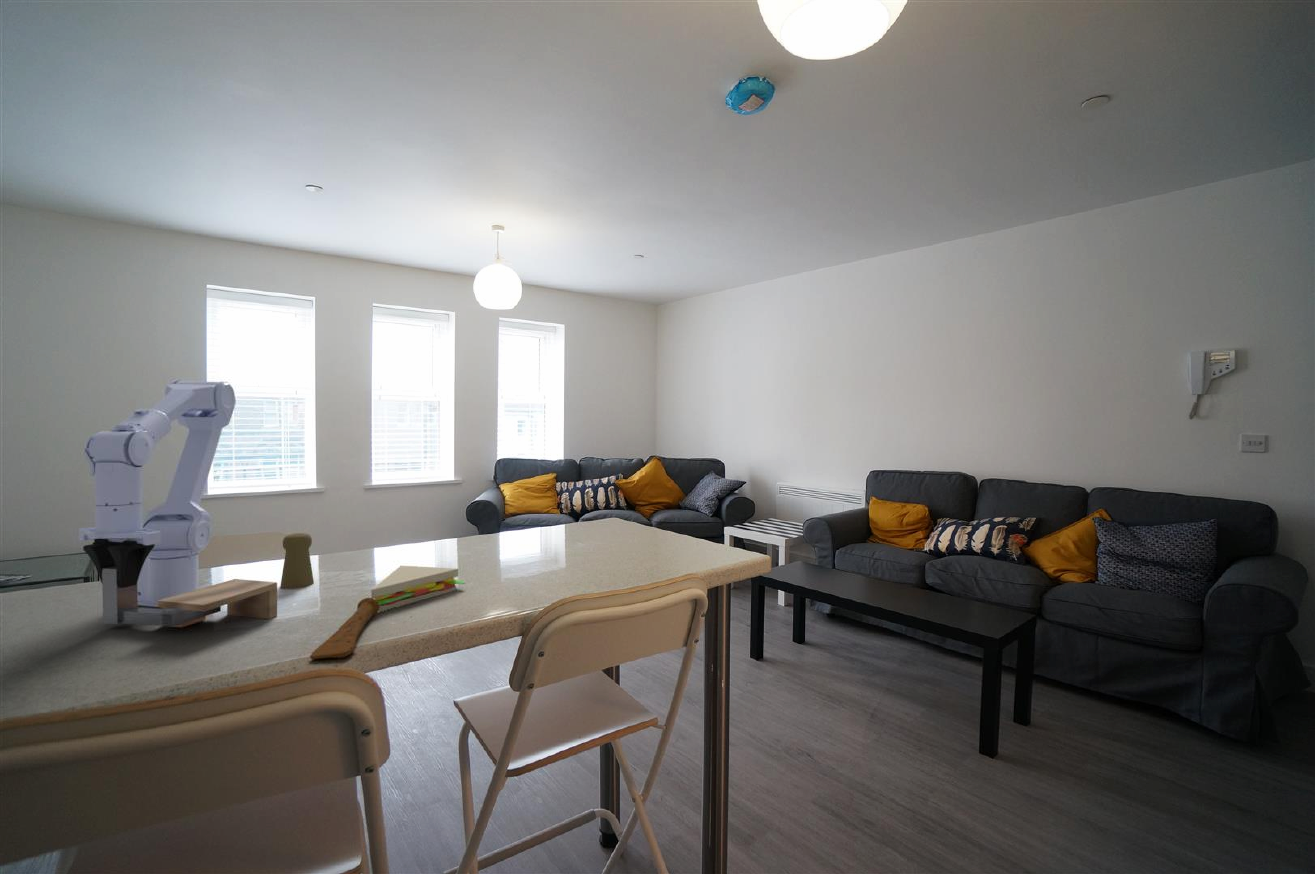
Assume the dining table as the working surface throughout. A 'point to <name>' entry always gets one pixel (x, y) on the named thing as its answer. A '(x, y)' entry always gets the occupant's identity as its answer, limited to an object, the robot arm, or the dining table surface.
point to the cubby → (230, 598)
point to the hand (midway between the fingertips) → (119, 585)
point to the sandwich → (413, 585)
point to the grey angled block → (124, 606)
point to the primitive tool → (347, 632)
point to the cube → (188, 621)
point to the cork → (297, 562)
